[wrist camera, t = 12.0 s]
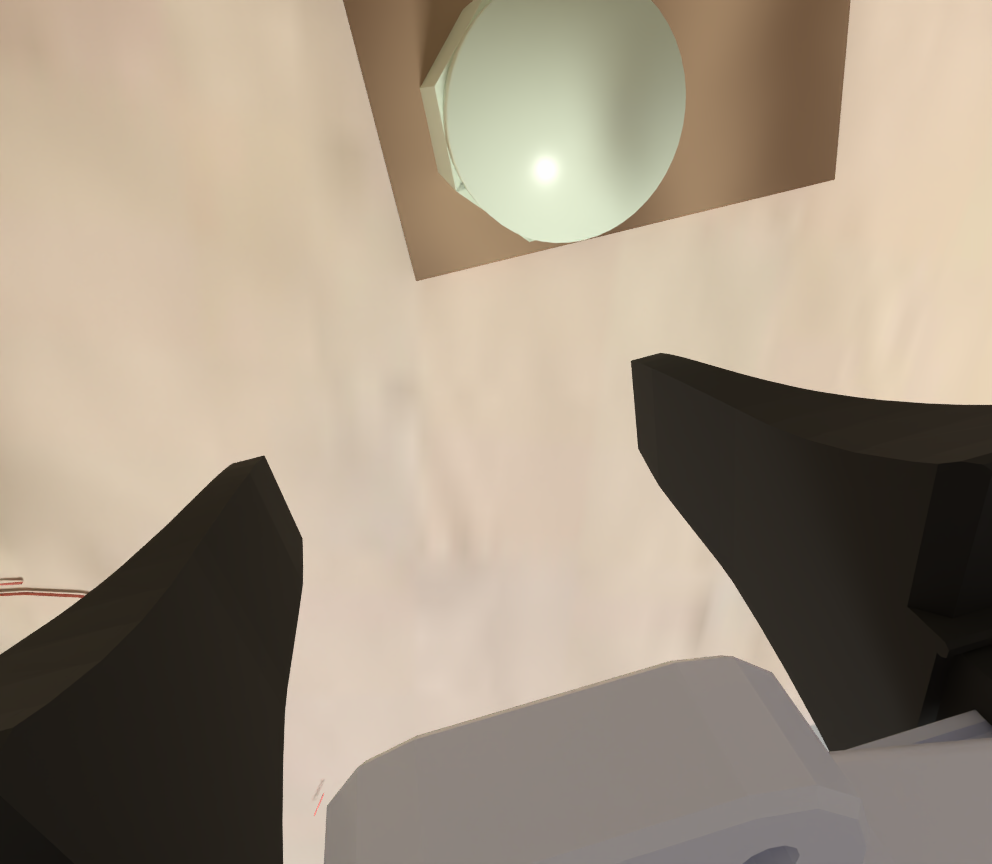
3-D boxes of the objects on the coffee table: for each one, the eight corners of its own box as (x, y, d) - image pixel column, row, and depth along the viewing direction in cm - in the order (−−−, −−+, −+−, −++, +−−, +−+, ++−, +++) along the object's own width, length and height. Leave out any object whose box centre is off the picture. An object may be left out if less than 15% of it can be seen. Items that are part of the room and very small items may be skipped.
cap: (405, 21, 16) (420, -6, 12) (597, -19, 16) (682, -60, 12) (449, 226, 18) (476, 266, 14) (614, 187, 19) (688, 215, 14)
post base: (844, -233, 16) (978, -325, 12) (815, 175, 21) (904, 192, 17) (309, -129, 15) (293, -196, 11) (414, 272, 20) (424, 310, 16)
